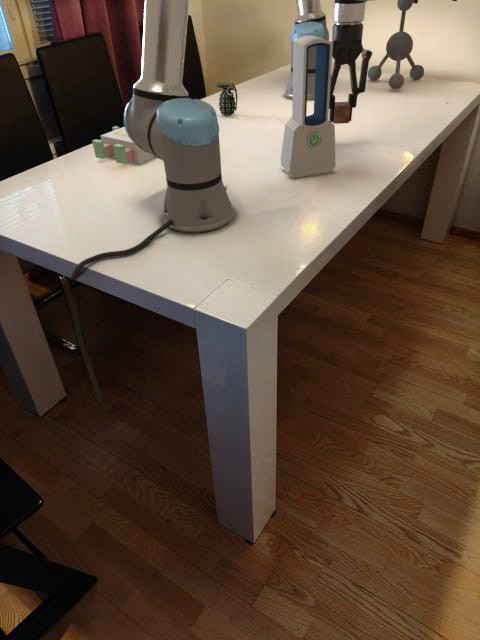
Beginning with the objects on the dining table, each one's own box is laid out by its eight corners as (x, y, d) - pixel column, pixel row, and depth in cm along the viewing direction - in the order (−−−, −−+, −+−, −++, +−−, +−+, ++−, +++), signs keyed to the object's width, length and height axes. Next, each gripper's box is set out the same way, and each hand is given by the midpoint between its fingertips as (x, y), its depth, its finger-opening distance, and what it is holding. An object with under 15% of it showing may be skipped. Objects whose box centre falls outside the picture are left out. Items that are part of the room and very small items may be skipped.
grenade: (217, 117, 168) (214, 86, 162) (221, 112, 172) (219, 82, 166) (235, 117, 166) (233, 86, 160) (239, 113, 171) (238, 82, 165)
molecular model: (441, 85, 188) (459, -9, 169) (393, 93, 182) (406, -3, 164) (404, 74, 205) (416, -12, 187) (359, 81, 200) (367, -7, 181)
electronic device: (289, 178, 122) (291, 42, 103) (279, 168, 128) (280, 37, 109) (335, 171, 124) (345, 37, 106) (323, 161, 130) (331, 32, 111)
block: (345, 118, 138) (347, 101, 135) (348, 123, 134) (350, 105, 131) (331, 119, 138) (332, 102, 135) (333, 123, 134) (335, 106, 131)
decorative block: (145, 112, 153) (194, 120, 143) (148, 133, 157) (196, 142, 147) (81, 135, 137) (131, 146, 127) (86, 158, 141) (135, 170, 131)
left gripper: (378, 19, 124) (367, 115, 139) (311, 22, 124) (307, 118, 139) (386, 23, 118) (374, 122, 133) (316, 26, 118) (311, 125, 133)
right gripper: (481, -79, 160) (466, -2, 173) (405, -74, 160) (396, 3, 173) (491, -80, 154) (474, 0, 167) (412, -75, 154) (402, 5, 167)
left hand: (340, 120), depth 136 cm, fingers closed on block, 4 cm apart
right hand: (434, 2), depth 170 cm, fingers open, 13 cm apart
